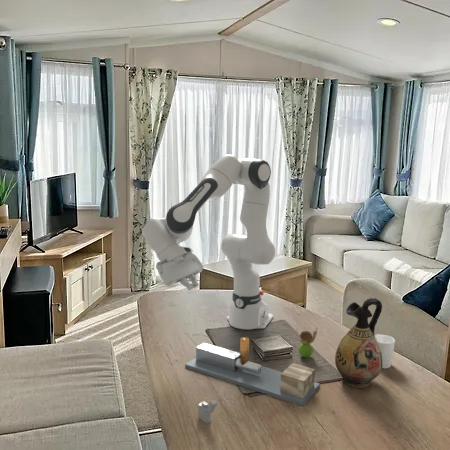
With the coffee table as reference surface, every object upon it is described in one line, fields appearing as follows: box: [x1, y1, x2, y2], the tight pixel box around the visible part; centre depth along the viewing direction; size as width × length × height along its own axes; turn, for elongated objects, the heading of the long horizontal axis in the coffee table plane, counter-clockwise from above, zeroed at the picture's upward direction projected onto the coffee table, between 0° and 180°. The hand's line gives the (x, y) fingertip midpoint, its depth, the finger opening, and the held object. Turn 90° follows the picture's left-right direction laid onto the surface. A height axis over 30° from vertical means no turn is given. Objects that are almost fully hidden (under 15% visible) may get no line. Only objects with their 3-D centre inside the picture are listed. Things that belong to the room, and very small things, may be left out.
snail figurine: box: [298, 327, 318, 359], centre depth 185 cm, size 5×6×12 cm
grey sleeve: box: [195, 342, 240, 372], centre depth 176 cm, size 5×16×5 cm, turn 58°
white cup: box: [374, 333, 396, 369], centre depth 180 cm, size 8×8×10 cm
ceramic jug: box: [334, 297, 383, 389], centre depth 166 cm, size 17×15×30 cm
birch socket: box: [280, 362, 316, 398], centre depth 160 cm, size 9×8×6 cm
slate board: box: [184, 356, 320, 407], centre depth 170 cm, size 14×45×1 cm, turn 58°
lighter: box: [197, 399, 218, 424], centre depth 143 cm, size 7×2×8 cm, turn 38°
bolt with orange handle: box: [235, 336, 263, 374], centre depth 173 cm, size 3×24×11 cm, turn 58°
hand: (194, 287), depth 177 cm, fingers closed
